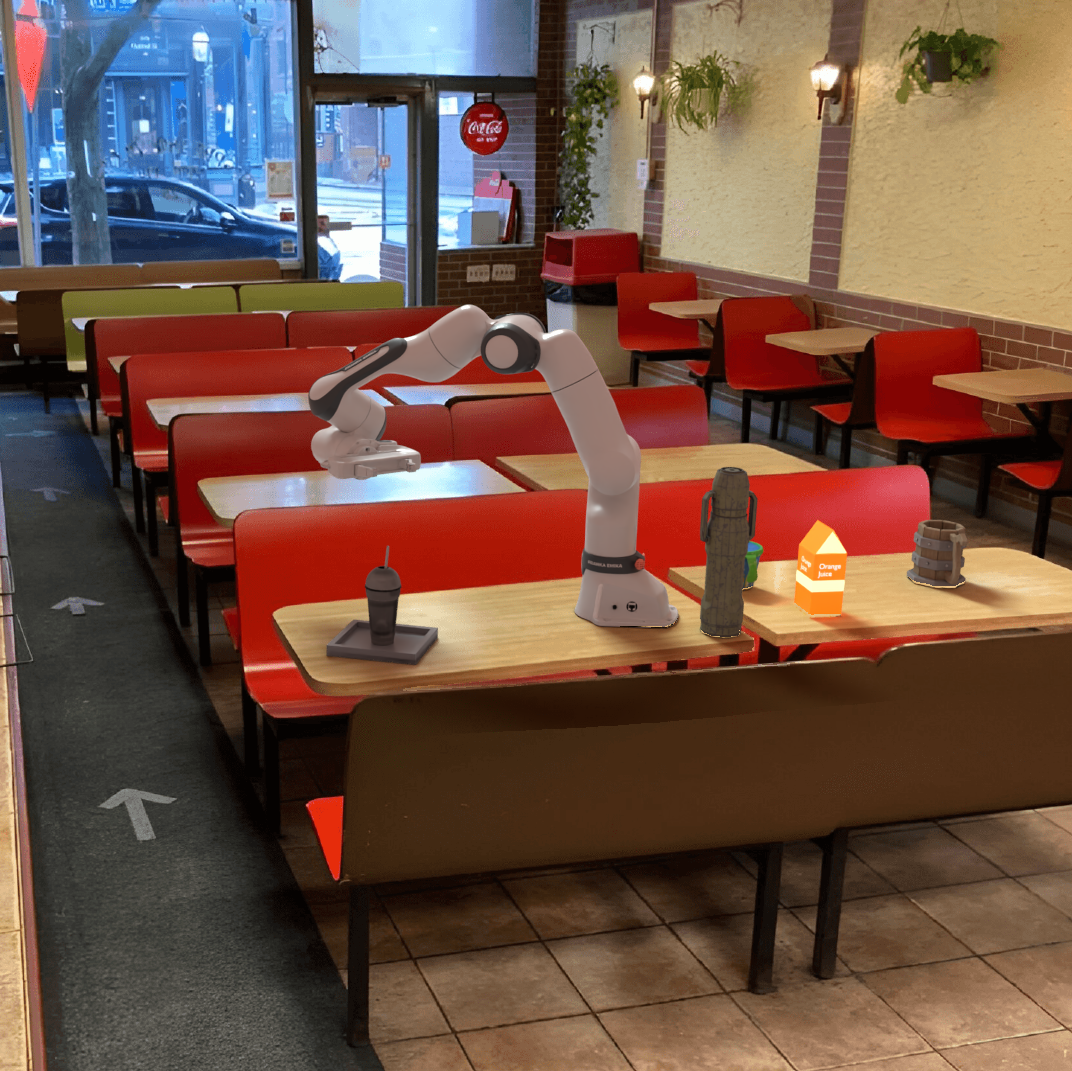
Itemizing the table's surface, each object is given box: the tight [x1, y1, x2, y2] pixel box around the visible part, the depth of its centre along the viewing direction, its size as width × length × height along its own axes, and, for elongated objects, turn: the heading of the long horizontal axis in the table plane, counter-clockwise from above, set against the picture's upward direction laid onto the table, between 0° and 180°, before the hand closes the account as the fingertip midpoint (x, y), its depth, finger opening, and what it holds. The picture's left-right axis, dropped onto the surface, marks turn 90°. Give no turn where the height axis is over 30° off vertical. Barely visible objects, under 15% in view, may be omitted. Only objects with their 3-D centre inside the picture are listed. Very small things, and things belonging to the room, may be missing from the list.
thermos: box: [699, 466, 759, 637], centre depth 276 cm, size 9×12×35 cm
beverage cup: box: [364, 545, 402, 645], centre depth 263 cm, size 7×7×20 cm
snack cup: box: [743, 540, 764, 588], centre depth 310 cm, size 16×10×10 cm
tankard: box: [906, 519, 969, 586], centre depth 316 cm, size 20×13×15 cm, turn 3°
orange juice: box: [793, 519, 848, 615], centre depth 293 cm, size 8×9×20 cm
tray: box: [325, 619, 439, 666], centre depth 265 cm, size 18×16×2 cm
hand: (394, 470), depth 274 cm, fingers open, 8 cm apart
